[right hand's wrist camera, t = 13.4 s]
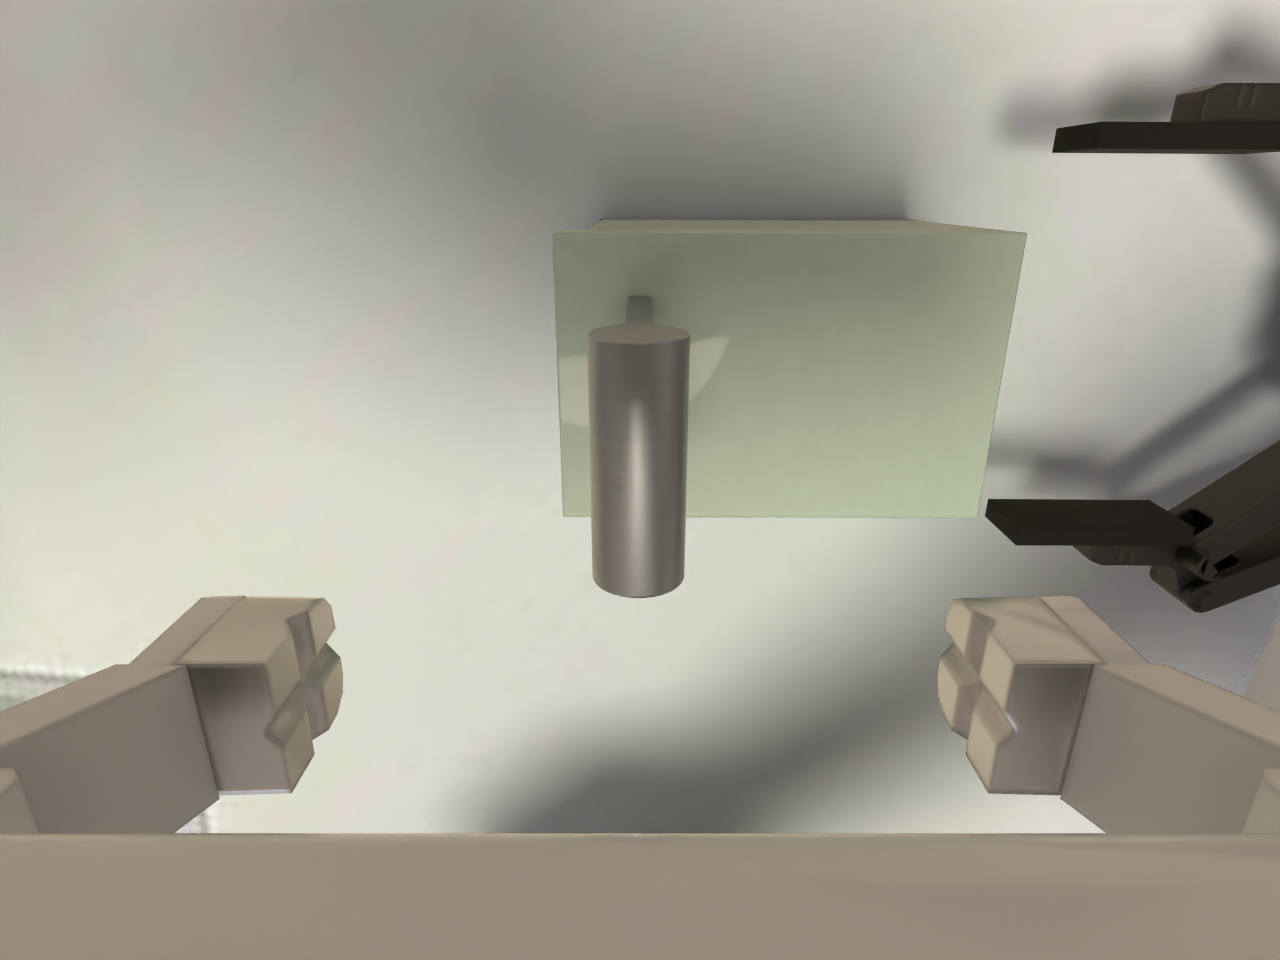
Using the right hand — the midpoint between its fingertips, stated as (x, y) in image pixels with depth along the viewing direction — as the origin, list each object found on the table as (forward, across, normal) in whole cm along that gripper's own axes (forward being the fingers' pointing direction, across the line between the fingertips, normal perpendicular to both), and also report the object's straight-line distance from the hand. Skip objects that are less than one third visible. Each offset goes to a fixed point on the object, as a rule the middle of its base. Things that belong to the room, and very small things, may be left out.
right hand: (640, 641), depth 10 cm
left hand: (+18, +14, 0) cm, 23 cm away
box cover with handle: (+15, +4, 0) cm, 16 cm away
